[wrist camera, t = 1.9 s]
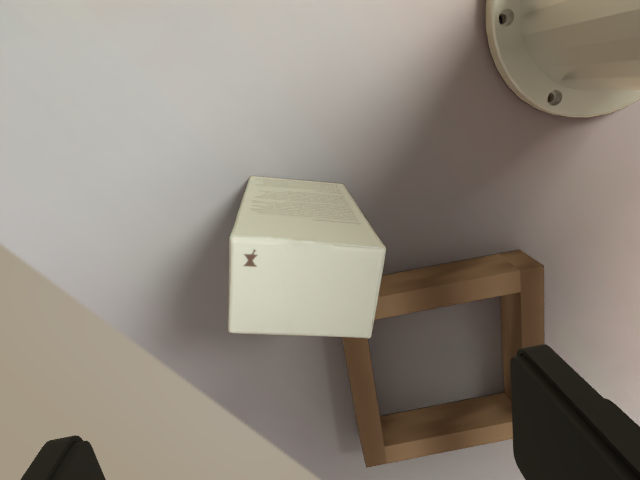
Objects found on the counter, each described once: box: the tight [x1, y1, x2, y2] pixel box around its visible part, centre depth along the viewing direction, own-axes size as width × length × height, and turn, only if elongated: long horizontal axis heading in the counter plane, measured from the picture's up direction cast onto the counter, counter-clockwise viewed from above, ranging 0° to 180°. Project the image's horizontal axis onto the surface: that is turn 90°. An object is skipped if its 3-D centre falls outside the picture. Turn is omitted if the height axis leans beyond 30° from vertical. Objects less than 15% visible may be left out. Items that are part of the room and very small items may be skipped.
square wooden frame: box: [342, 250, 544, 467], centre depth 31 cm, size 13×13×3 cm
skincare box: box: [228, 176, 386, 338], centre depth 23 cm, size 6×4×12 cm
